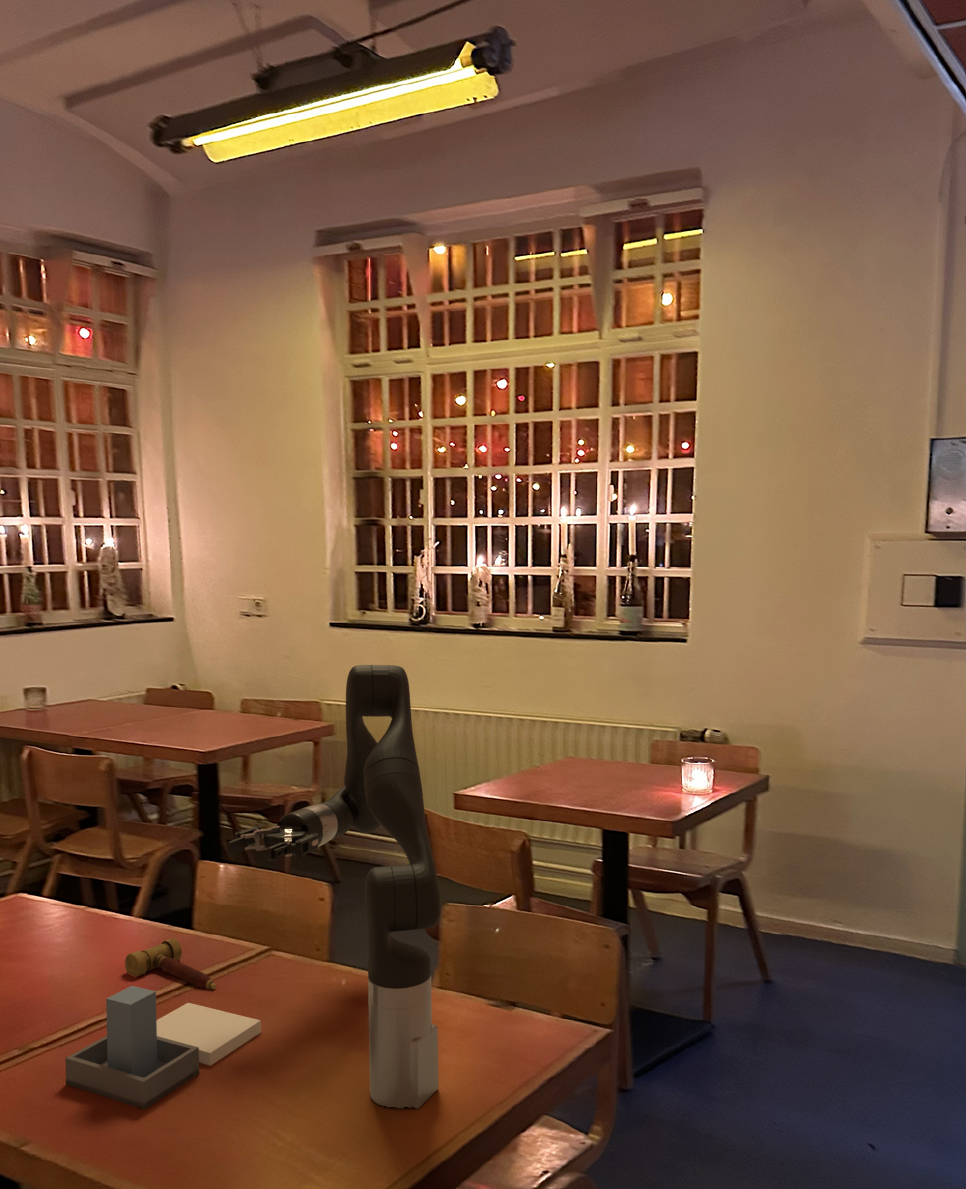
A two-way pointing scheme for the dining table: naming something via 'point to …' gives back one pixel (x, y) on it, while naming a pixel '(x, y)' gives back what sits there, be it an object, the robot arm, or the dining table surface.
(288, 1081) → the dining table surface
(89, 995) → the dining table surface
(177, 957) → the gavel
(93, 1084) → the tray
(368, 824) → the robot arm
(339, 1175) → the dining table surface
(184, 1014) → the bench board
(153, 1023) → the tile block
